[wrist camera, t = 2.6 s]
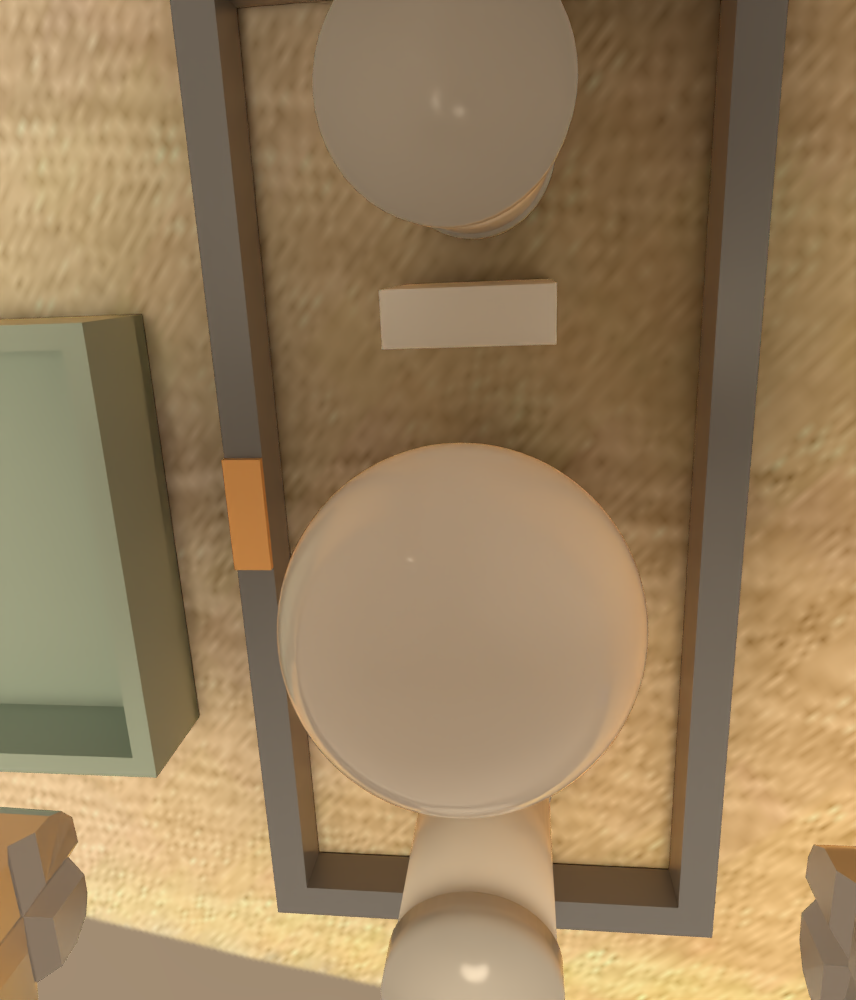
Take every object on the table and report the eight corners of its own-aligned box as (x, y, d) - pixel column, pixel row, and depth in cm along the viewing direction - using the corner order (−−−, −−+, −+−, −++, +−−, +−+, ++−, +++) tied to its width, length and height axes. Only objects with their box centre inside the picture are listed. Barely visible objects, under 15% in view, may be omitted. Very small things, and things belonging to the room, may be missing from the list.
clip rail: (190, -38, 18) (103, -117, 14) (774, -91, 17) (850, -195, 13) (291, 876, 26) (251, 983, 22) (700, 897, 24) (734, 1016, 20)
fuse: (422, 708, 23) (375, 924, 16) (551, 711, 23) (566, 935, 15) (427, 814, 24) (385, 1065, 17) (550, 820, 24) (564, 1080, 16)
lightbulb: (650, 512, 21) (780, 767, 10) (467, 644, 23) (422, 976, 12) (496, 327, 20) (471, 402, 9) (319, 480, 22) (130, 686, 11)
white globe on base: (391, 73, 18) (301, -58, 11) (555, 61, 18) (580, -85, 10) (399, 242, 20) (323, 231, 12) (553, 235, 19) (576, 219, 11)
